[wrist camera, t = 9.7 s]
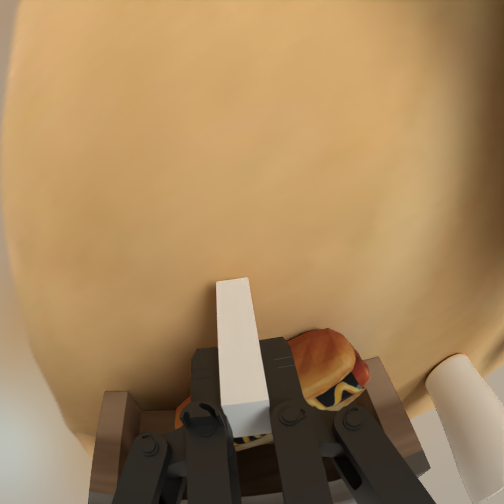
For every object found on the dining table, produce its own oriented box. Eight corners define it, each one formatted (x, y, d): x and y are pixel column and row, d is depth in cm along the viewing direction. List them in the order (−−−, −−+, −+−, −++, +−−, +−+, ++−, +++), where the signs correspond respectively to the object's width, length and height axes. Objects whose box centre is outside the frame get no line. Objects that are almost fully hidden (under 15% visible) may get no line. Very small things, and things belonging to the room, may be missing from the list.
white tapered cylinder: (461, 337, 22) (537, 463, 9) (475, 355, 25) (536, 458, 12) (406, 383, 24) (465, 512, 11) (429, 393, 27) (479, 498, 14)
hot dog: (360, 340, 19) (388, 398, 15) (209, 414, 22) (212, 468, 18) (331, 299, 17) (363, 366, 13) (164, 389, 20) (160, 450, 15)
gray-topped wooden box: (104, 391, 19) (87, 510, 11) (378, 356, 21) (430, 468, 12) (153, 450, 26) (153, 533, 17) (352, 424, 27) (379, 504, 19)
